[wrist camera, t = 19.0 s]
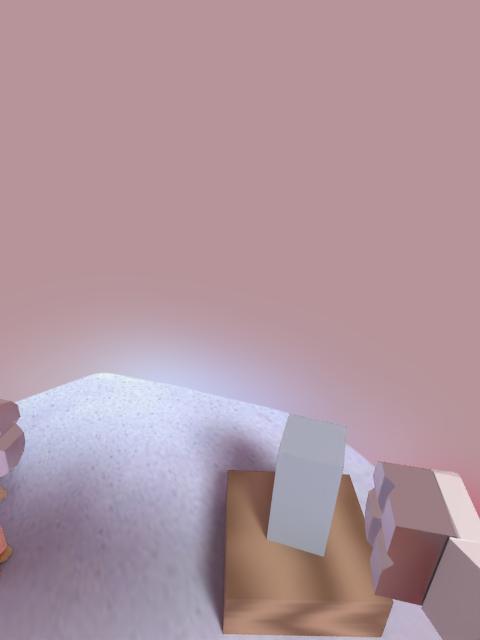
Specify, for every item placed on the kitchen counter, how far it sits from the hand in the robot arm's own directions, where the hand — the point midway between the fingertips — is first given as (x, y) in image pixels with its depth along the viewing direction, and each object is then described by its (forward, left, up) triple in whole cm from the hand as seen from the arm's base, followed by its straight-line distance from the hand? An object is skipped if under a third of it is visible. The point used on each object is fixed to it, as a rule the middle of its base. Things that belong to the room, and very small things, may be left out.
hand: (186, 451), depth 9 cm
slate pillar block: (+5, +20, -25) cm, 33 cm away
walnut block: (+5, +20, -30) cm, 37 cm away
